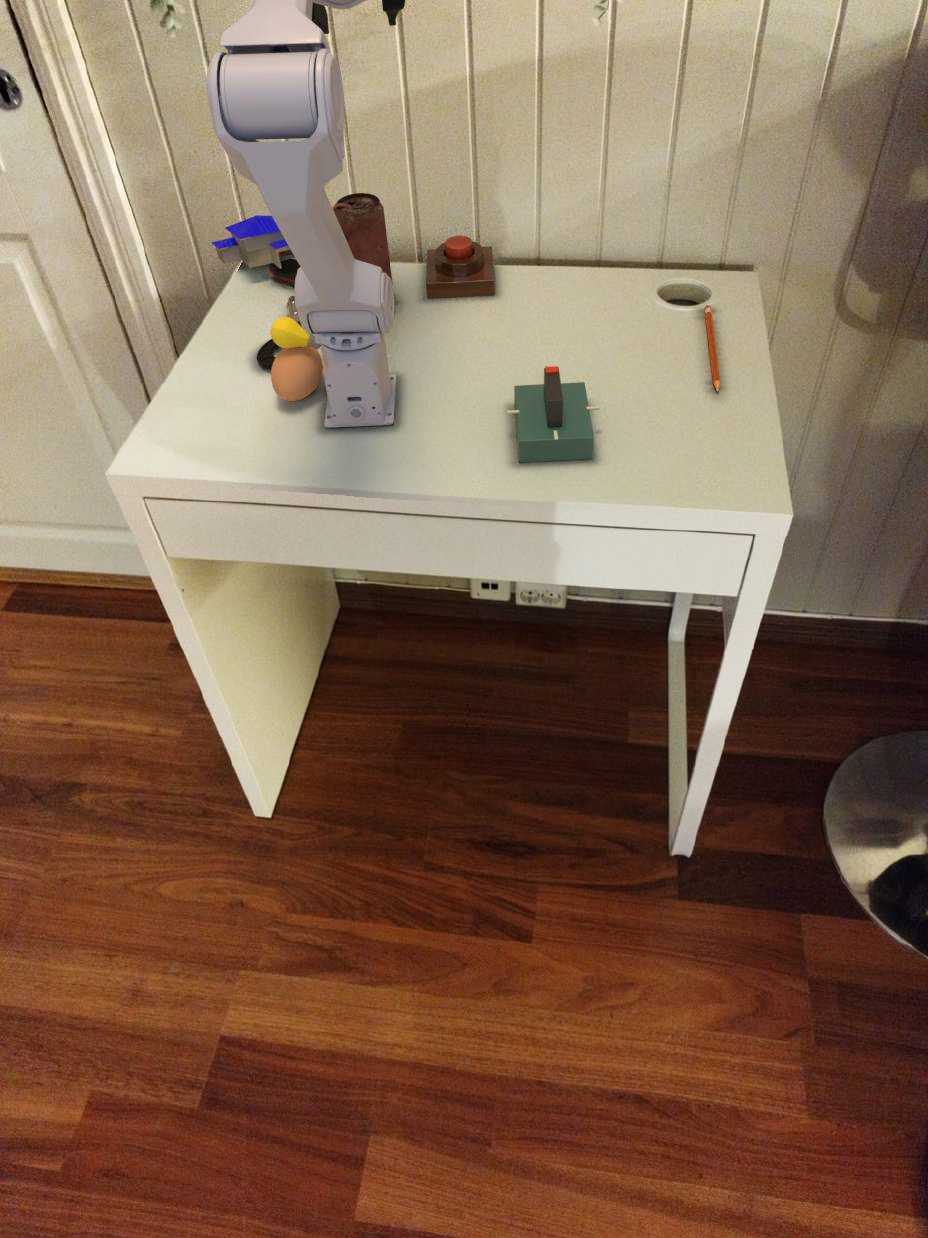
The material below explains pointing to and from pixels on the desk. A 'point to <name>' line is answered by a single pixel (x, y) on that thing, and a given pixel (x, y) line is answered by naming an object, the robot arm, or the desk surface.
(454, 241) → the button
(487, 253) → the button block
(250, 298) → the desk surface
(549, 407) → the battery with red terminal
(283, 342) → the light bulb
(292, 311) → the micrometer
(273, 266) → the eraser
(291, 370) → the egg
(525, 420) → the panel
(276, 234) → the house
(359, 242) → the can
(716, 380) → the pencil
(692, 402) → the desk surface
